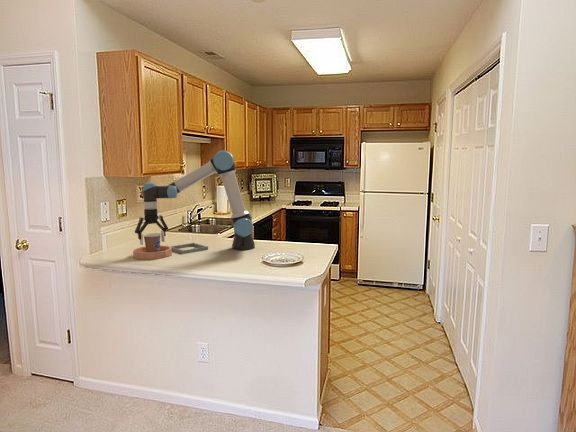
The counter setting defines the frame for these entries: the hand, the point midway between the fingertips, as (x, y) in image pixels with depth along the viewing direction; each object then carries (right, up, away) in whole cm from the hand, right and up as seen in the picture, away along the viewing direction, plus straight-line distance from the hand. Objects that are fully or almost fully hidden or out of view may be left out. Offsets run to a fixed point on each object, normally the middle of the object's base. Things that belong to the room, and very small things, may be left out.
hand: (152, 243), depth 242 cm
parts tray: (+18, -5, +17) cm, 25 cm away
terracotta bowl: (0, -8, +1) cm, 8 cm away
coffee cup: (0, -7, +1) cm, 7 cm away
